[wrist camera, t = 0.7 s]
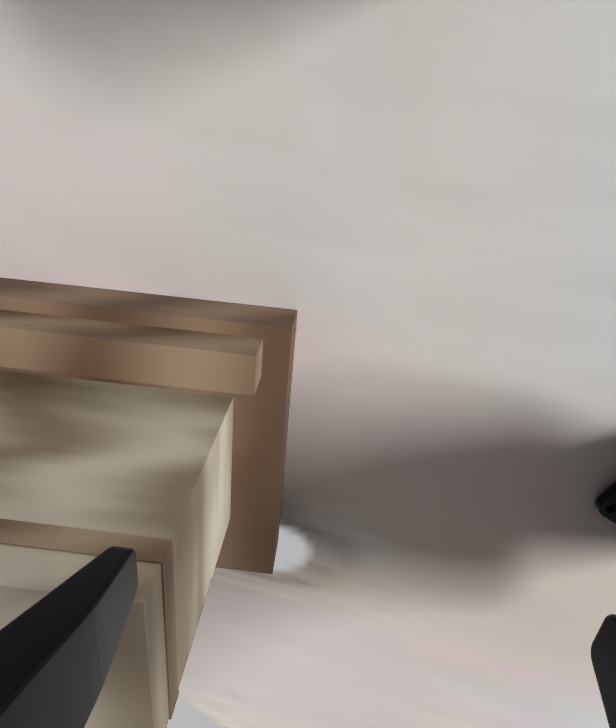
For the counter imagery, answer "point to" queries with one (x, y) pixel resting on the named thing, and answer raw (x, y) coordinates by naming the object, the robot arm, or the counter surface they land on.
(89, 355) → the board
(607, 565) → the counter surface
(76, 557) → the tea box
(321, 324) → the counter surface
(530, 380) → the counter surface
